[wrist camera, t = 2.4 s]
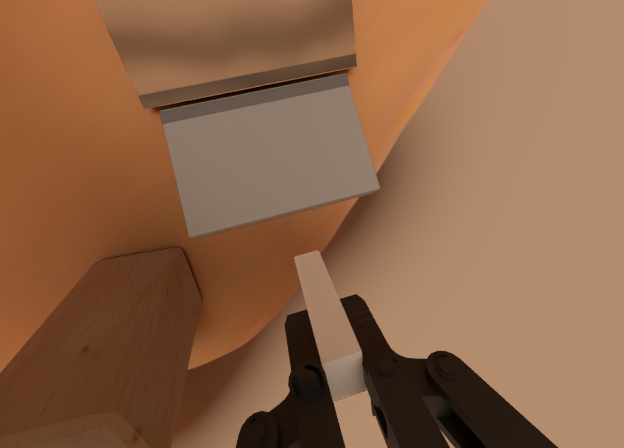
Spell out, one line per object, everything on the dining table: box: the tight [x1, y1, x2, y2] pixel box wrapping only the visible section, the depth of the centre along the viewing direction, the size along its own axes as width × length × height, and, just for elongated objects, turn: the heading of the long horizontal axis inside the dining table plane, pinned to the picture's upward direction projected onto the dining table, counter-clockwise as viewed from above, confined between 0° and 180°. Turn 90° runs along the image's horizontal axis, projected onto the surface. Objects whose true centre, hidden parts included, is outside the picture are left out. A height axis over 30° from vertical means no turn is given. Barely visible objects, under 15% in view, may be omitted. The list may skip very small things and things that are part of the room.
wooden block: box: [0, 247, 202, 448], centre depth 25 cm, size 10×10×20 cm
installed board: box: [94, 0, 357, 109], centre depth 22 cm, size 8×20×2 cm, turn 100°
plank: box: [160, 73, 380, 238], centre depth 24 cm, size 12×18×2 cm
